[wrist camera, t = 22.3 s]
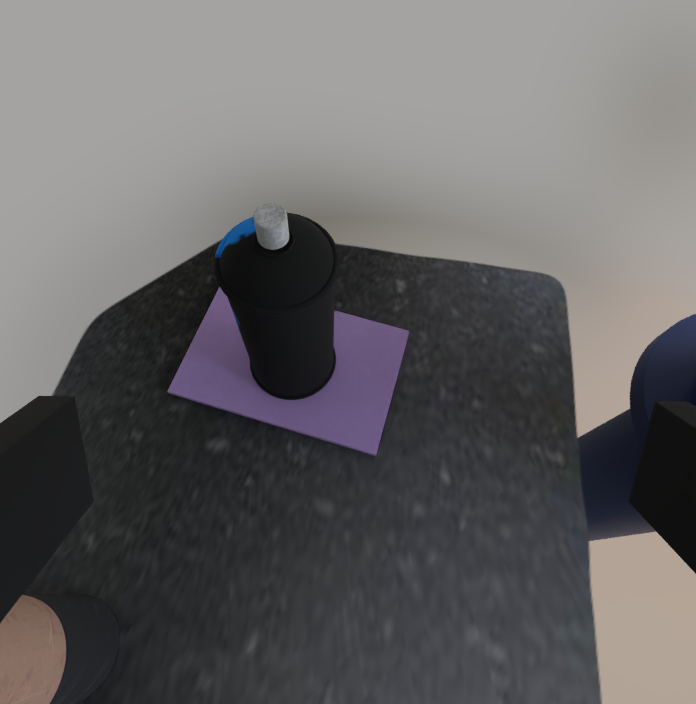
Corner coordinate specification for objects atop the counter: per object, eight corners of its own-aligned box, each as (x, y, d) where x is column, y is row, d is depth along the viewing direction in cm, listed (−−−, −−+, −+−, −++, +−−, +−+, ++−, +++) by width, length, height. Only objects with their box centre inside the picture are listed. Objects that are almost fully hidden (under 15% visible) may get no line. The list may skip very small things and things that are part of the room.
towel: (408, 333, 48) (409, 331, 47) (375, 456, 42) (376, 454, 42) (224, 282, 49) (222, 279, 49) (168, 393, 44) (167, 391, 43)
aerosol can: (351, 345, 46) (365, 196, 28) (308, 416, 43) (294, 298, 25) (279, 310, 48) (249, 146, 30) (233, 375, 44) (167, 236, 26)
